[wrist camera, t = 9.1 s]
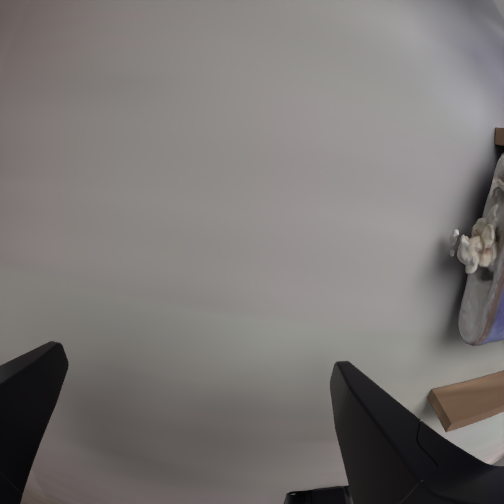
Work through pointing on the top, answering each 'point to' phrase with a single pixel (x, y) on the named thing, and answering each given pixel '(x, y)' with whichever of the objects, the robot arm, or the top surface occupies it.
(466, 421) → the frame
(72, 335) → the top surface
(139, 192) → the top surface
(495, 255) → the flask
